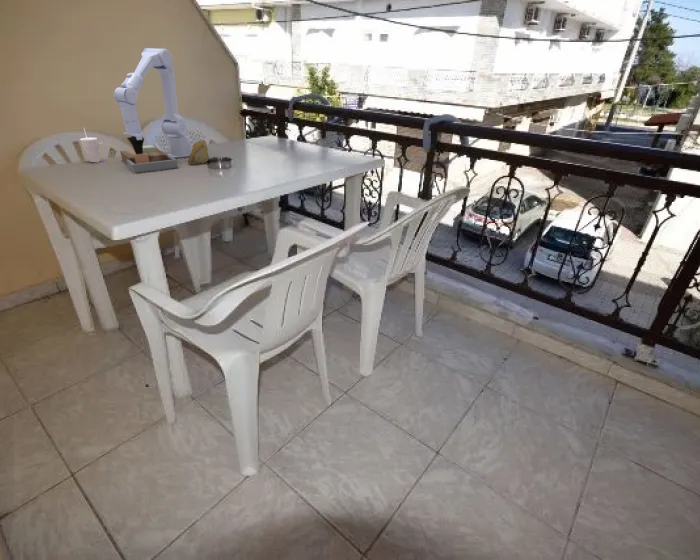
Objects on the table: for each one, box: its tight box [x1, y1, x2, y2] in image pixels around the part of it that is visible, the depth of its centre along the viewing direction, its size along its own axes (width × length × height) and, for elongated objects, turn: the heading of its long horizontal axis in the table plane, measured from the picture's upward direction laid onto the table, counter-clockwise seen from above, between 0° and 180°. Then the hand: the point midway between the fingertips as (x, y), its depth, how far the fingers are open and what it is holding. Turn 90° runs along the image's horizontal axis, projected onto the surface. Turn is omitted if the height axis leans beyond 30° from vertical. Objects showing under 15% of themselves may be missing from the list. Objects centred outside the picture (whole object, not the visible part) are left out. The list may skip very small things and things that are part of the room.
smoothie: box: [79, 127, 101, 163], centre depth 162 cm, size 6×6×14 cm
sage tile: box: [143, 144, 157, 153], centre depth 169 cm, size 5×5×2 cm
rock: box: [187, 140, 210, 166], centre depth 169 cm, size 11×9×10 cm
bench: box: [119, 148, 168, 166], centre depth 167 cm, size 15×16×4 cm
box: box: [126, 155, 179, 174], centre depth 159 cm, size 17×10×4 cm, turn 129°
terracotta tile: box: [133, 153, 149, 164], centre depth 159 cm, size 5×5×2 cm
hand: (139, 155), depth 159 cm, fingers closed
